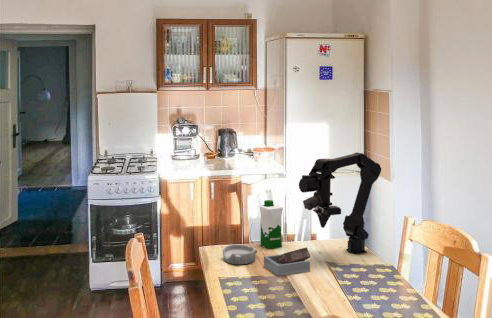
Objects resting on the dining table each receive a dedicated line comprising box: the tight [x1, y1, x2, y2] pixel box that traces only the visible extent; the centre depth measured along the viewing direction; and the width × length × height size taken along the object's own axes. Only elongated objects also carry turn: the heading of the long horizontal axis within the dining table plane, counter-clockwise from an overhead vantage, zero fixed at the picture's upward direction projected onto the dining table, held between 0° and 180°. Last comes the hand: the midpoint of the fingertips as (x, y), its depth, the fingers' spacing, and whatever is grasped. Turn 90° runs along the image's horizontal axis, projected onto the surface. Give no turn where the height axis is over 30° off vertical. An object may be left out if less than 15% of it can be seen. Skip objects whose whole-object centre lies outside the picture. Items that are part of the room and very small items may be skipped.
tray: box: [263, 253, 311, 277], centre depth 220 cm, size 14×12×4 cm
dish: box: [222, 243, 258, 266], centre depth 232 cm, size 14×14×5 cm
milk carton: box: [259, 199, 284, 250], centre depth 249 cm, size 9×9×20 cm
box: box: [276, 247, 312, 265], centre depth 220 cm, size 6×4×12 cm
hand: (322, 227), depth 231 cm, fingers closed
